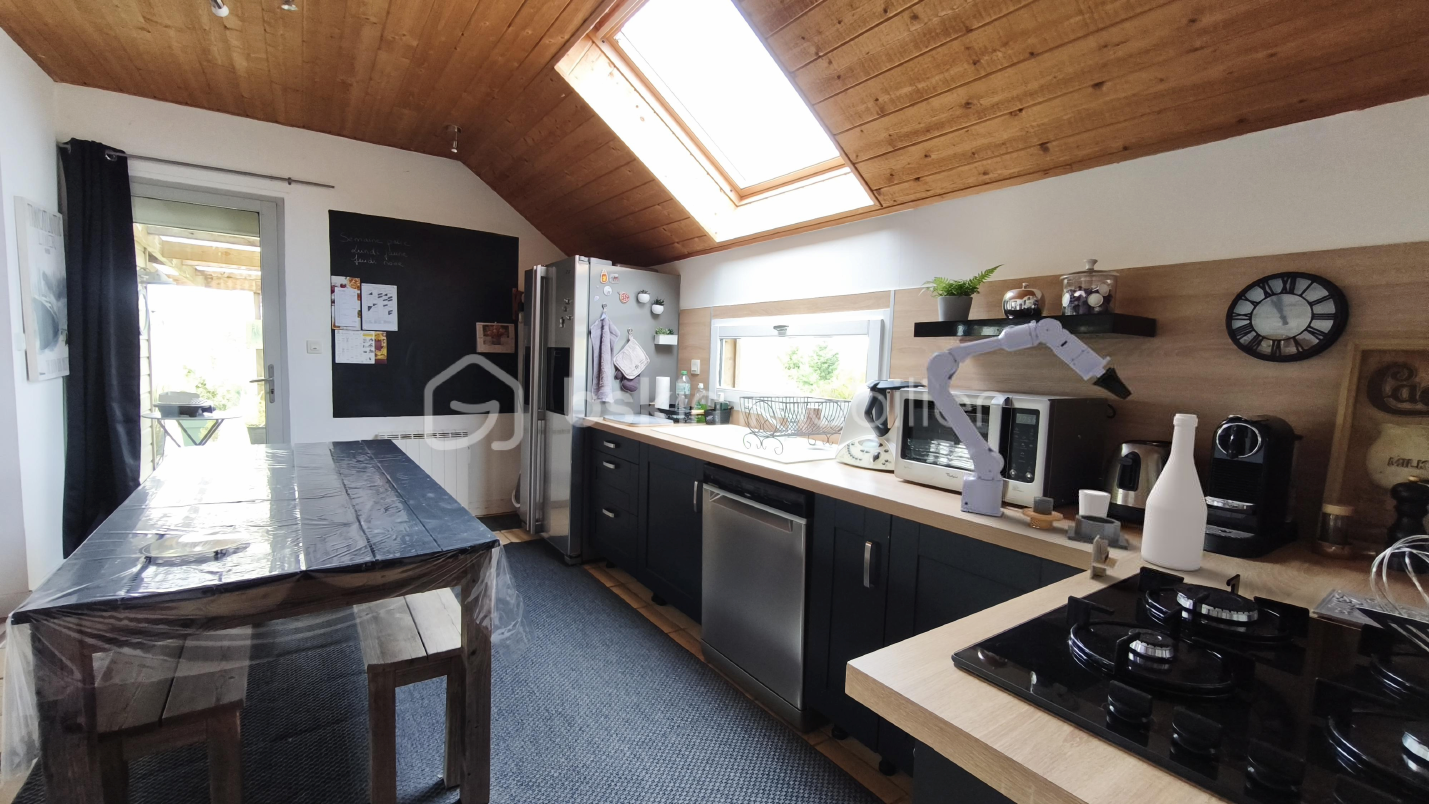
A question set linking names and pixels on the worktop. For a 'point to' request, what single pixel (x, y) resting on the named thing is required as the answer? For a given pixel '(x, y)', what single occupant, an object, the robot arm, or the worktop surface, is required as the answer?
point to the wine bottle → (1176, 506)
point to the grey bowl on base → (1097, 530)
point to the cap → (1042, 513)
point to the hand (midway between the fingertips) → (1126, 396)
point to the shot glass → (1093, 503)
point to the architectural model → (1101, 558)
